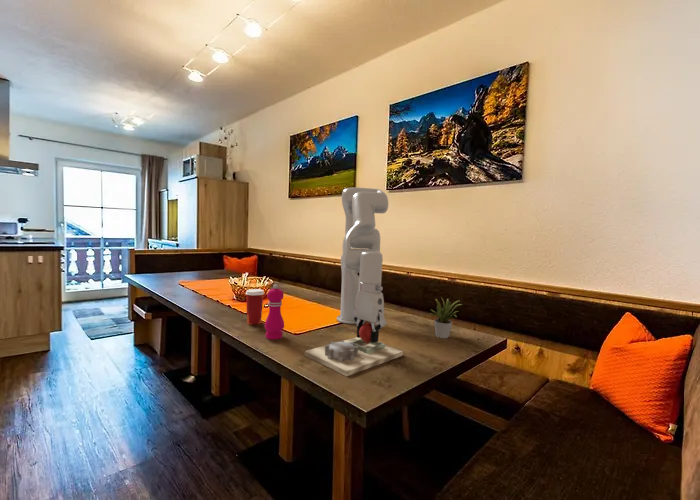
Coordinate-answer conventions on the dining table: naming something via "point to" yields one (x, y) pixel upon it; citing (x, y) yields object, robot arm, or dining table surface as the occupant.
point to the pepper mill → (274, 314)
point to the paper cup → (254, 306)
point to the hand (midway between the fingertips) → (367, 338)
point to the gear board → (353, 355)
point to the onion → (366, 332)
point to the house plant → (444, 318)
